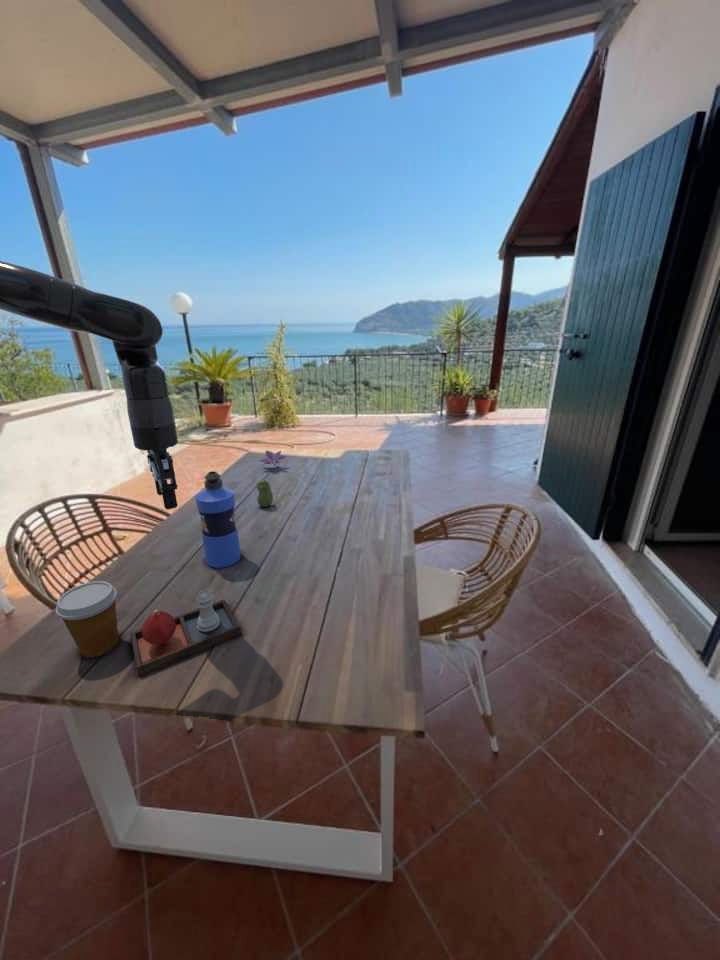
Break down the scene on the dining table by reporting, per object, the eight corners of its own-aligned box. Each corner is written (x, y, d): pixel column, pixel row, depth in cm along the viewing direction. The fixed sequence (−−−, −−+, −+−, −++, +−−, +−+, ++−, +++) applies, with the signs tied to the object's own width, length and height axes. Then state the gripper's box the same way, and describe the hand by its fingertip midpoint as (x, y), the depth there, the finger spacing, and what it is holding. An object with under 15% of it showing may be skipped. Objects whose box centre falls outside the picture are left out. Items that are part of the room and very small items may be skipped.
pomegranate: (139, 646, 75) (131, 612, 72) (168, 629, 80) (161, 596, 77) (156, 659, 72) (148, 624, 69) (184, 641, 77) (178, 607, 74)
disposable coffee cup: (97, 669, 71) (81, 616, 67) (58, 657, 73) (40, 605, 69) (138, 634, 79) (127, 584, 75) (102, 624, 82) (89, 576, 78)
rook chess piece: (209, 615, 83) (204, 584, 81) (225, 622, 82) (220, 590, 79) (192, 629, 80) (186, 596, 77) (208, 636, 78) (203, 603, 75)
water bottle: (207, 571, 101) (193, 481, 92) (204, 554, 109) (191, 469, 100) (243, 563, 105) (233, 475, 96) (238, 547, 112) (228, 465, 104)
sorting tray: (139, 676, 69) (136, 667, 69) (132, 640, 78) (129, 632, 77) (241, 634, 79) (240, 626, 79) (225, 606, 88) (224, 598, 87)
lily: (292, 469, 182) (286, 449, 183) (285, 467, 171) (279, 446, 171) (268, 476, 183) (262, 457, 184) (259, 475, 172) (253, 454, 172)
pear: (267, 510, 136) (265, 483, 133) (254, 508, 138) (252, 481, 135) (276, 504, 141) (274, 478, 138) (263, 502, 143) (261, 476, 140)
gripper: (125, 417, 76) (141, 493, 82) (134, 431, 65) (152, 518, 71) (167, 413, 80) (179, 486, 86) (182, 425, 69) (195, 508, 75)
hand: (167, 500), depth 78 cm, fingers open, 8 cm apart
